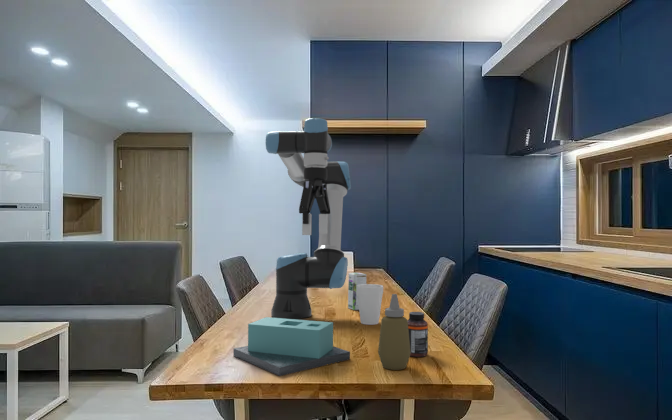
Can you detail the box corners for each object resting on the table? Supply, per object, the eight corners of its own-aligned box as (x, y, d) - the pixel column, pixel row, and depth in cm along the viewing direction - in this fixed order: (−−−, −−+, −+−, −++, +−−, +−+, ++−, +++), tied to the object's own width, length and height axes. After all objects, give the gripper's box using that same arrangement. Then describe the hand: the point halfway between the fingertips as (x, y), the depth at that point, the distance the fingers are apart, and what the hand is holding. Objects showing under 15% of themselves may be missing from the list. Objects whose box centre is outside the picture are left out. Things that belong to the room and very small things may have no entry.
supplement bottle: (404, 351, 139) (404, 310, 139) (426, 351, 138) (426, 310, 139) (406, 357, 133) (406, 314, 133) (429, 357, 132) (429, 315, 133)
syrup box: (347, 308, 205) (347, 272, 206) (360, 307, 208) (360, 272, 208) (353, 310, 200) (353, 274, 201) (366, 309, 203) (366, 273, 203)
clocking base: (233, 355, 133) (233, 325, 134) (300, 343, 148) (300, 315, 148) (279, 376, 117) (279, 341, 117) (350, 359, 131) (350, 328, 131)
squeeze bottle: (388, 373, 119) (388, 297, 119) (372, 364, 126) (372, 292, 127) (417, 369, 122) (417, 295, 122) (399, 361, 129) (400, 291, 130)
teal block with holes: (248, 351, 131) (248, 324, 131) (266, 342, 140) (266, 317, 140) (319, 358, 124) (319, 330, 124) (332, 348, 134) (333, 322, 134)
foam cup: (381, 326, 171) (381, 288, 172) (354, 324, 173) (354, 287, 173) (384, 320, 181) (384, 284, 181) (358, 319, 182) (359, 283, 183)
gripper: (311, 163, 146) (310, 235, 146) (339, 170, 170) (339, 233, 170) (288, 164, 149) (287, 235, 149) (319, 171, 172) (319, 233, 172)
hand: (315, 234), depth 159 cm, fingers open, 13 cm apart
